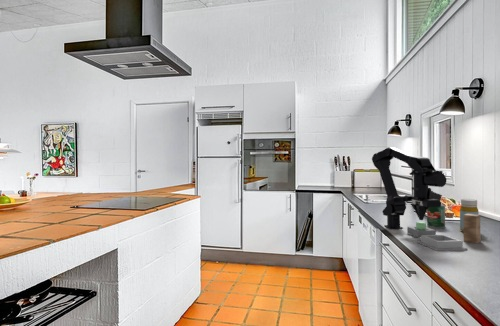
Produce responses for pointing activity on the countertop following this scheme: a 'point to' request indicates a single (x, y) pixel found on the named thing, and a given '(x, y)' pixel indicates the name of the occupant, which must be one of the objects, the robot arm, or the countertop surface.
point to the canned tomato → (436, 216)
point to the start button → (421, 225)
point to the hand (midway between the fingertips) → (421, 220)
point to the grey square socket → (441, 242)
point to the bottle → (467, 209)
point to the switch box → (420, 231)
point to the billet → (471, 228)
